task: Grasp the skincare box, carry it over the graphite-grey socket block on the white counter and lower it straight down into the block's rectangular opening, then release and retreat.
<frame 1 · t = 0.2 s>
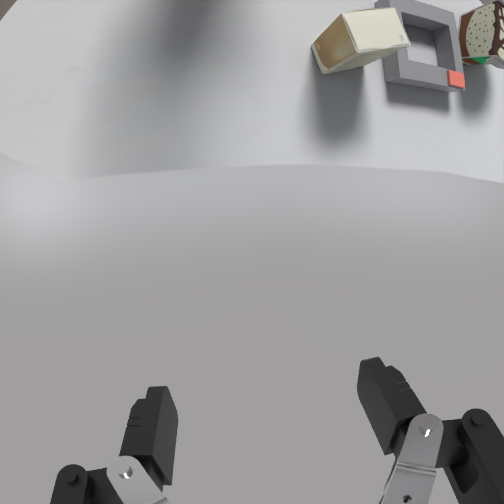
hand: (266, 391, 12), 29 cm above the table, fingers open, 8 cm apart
food container: (469, 47, 32), on the table
socket block: (414, 47, 32), on the table
skincare box: (336, 55, 33), on the table
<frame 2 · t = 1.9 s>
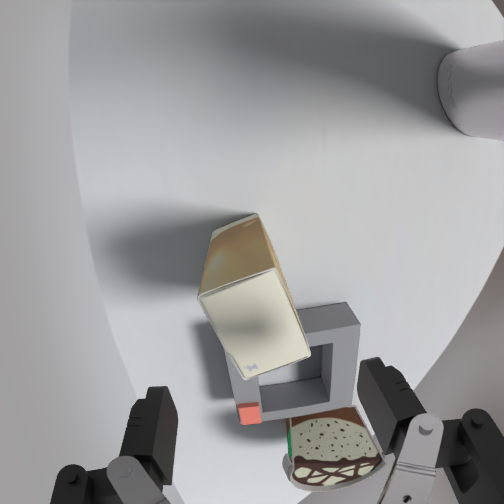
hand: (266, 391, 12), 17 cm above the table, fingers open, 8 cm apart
food container: (313, 418, 36), on the table
socket block: (289, 355, 32), on the table
skincare box: (247, 250, 28), on the table
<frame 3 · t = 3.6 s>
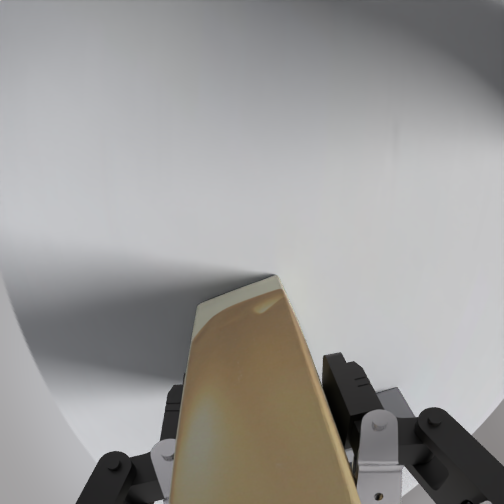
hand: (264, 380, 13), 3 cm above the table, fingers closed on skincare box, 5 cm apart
socket block: (311, 451, 20), on the table
skincare box: (257, 332, 16), on the table, touching gripper
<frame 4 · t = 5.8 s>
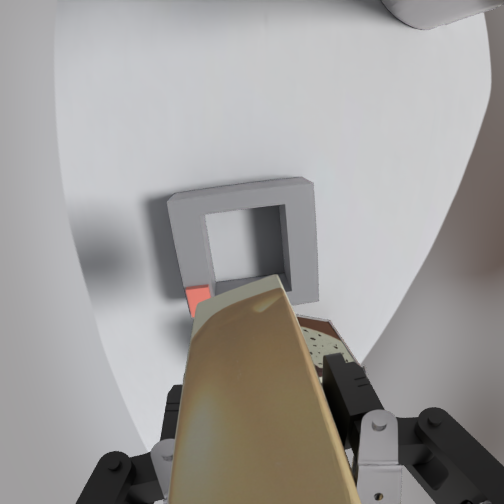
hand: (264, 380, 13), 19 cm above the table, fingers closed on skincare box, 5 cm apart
food container: (282, 335, 35), on the table
socket block: (245, 240, 31), on the table
skincare box: (256, 331, 16), point 16 cm above the table, touching gripper
when the fingers open (5 cm above the table, at t = 8.2 s): skincare box drops 1 cm, resting in socket block.
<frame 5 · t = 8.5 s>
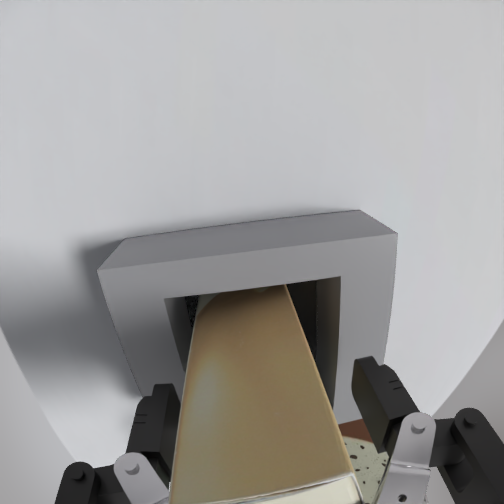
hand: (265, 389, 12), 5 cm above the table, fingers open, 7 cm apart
food container: (304, 434, 22), on the table
socket block: (254, 319, 17), on the table
skincare box: (254, 315, 18), resting in socket block
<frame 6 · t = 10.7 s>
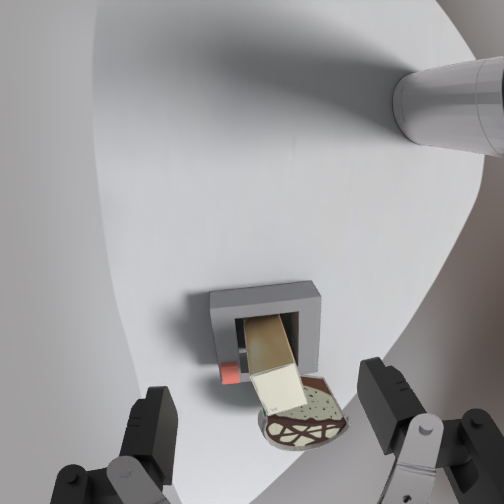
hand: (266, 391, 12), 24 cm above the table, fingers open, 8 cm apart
food container: (286, 387, 44), on the table
socket block: (264, 325, 39), on the table
skincare box: (264, 323, 39), resting in socket block
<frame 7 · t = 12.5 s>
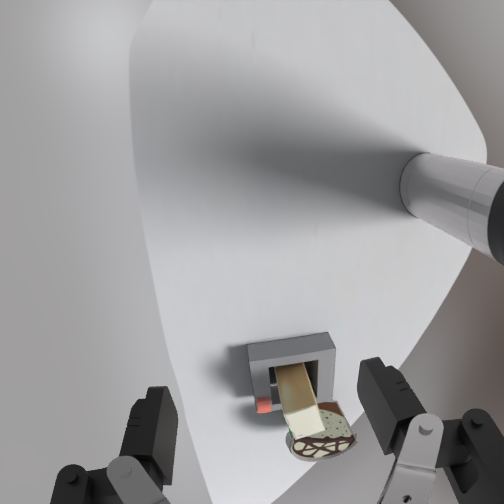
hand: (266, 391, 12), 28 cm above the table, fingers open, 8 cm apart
food container: (306, 410, 52), on the table
socket block: (289, 366, 47), on the table
skincare box: (289, 364, 47), resting in socket block
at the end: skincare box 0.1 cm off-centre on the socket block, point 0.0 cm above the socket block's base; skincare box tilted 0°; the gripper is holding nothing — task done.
